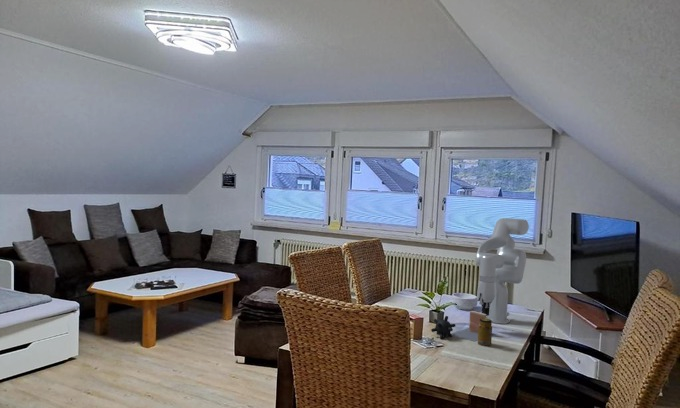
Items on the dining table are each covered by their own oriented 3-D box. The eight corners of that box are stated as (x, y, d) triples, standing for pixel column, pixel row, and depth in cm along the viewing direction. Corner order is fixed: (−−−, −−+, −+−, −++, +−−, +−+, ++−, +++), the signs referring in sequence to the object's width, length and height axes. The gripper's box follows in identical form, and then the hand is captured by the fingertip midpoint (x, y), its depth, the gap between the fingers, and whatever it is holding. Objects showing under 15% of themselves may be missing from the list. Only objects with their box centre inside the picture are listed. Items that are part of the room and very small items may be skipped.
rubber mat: (471, 328, 239) (471, 327, 239) (496, 335, 228) (496, 334, 228) (448, 334, 225) (448, 334, 225) (474, 342, 215) (474, 341, 215)
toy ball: (427, 325, 228) (451, 320, 229) (434, 345, 221) (458, 339, 222) (428, 315, 221) (452, 309, 221) (435, 335, 213) (460, 329, 214)
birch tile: (471, 330, 233) (472, 310, 233) (485, 334, 227) (486, 314, 227) (468, 331, 232) (469, 311, 231) (483, 335, 226) (484, 315, 225)
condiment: (484, 342, 216) (486, 316, 216) (498, 348, 209) (499, 321, 208) (472, 343, 213) (474, 318, 213) (486, 349, 206) (487, 323, 205)
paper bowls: (473, 313, 270) (474, 299, 270) (448, 308, 278) (448, 295, 278) (479, 308, 283) (480, 295, 283) (455, 304, 291) (456, 291, 291)
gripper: (488, 276, 241) (486, 311, 242) (472, 279, 231) (470, 315, 232) (501, 279, 236) (499, 314, 236) (486, 282, 226) (484, 319, 226)
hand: (485, 315), depth 234 cm, fingers closed
